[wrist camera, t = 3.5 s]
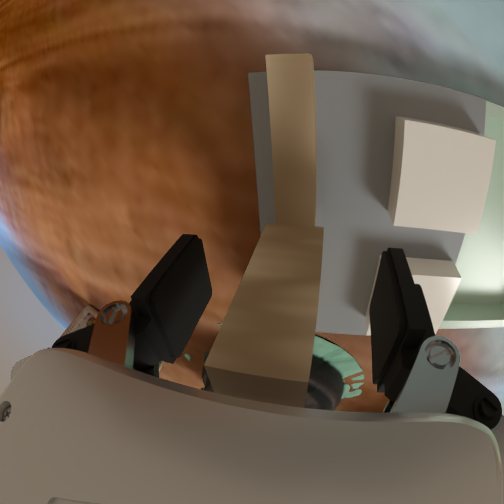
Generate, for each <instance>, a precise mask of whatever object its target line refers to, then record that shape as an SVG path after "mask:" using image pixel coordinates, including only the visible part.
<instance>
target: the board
mask: <svg viewBox="0 0 504 504" xmlns="http://www.w3.org/2000/svg"><path fill="white" fill-rule="evenodd" d="M314 76H315V95H316V124H317V201H316V226H318V227H324V237H323V253H322V268H321V281H320V292H319V303H318V313H317V322H316V331H315V332H324V333H337V334H351V335H366V323H365V315H366V312H367V308H368V304H369V300H370V296H371V292H372V288H373V284H374V280H375V275H376V271H377V266H378V261H379V256H380V255H382V252H383V251H387V249H388V248H402V249H403V251H404V254H405V256H406V257H409V258H422V259H435V260H448V261H453V262H454V264H456V261H457V258H458V255H459V252H460V249H461V246H462V243H463V239H464V236H465V233H459V232H450V231H441V230H432V229H423V228H413V227H402V226H393V223H392V221H391V218H390V216H389V214H388V211H387V210H388V203H389V195H390V187H391V178H392V168H393V156H394V141H395V118H396V116H400V117H407V118H413V119H419V120H424V121H430V122H435V123H440V124H444V125H449V126H453V127H457V128H461V129H465V130H469V131H473V132H477V133H480V134H482V135H484V130H485V115H486V99H483V98H480V97H477V96H474V95H471V94H468V93H465V92H461V91H458V90H454V89H450V88H446V87H442V86H438V85H434V84H430V83H425V82H420V81H415V80H410V79H404V78H398V77H392V76H385V75H377V74H368V73H357V72H344V71H323V70H314ZM248 80H249V92H250V104H251V116H252V129H253V141H254V154H255V167H256V180H257V194H258V207H259V221H260V235H261V234H262V232H263V230H264V227H265V225H266V224H276V220H275V198H274V177H273V158H272V141H271V125H270V110H269V96H268V83H267V71H266V72H252V73H248ZM369 336H371V335H369Z"/></svg>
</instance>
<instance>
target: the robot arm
mask: <svg viewBox="0 0 504 504" xmlns="http://www.w3.org/2000/svg"><path fill="white" fill-rule="evenodd" d="M211 296H212V287H211V282H210V278H209V273H208V268H207V263H206V258H205V253H204V248H203V243H202V240H201V239H199V238H198V236H197V235H190V234H183V235H182V236H181V237H180V238H179V239H178V240H177V241H176V242H175V244H174V245H173V246H172V247H171V248H170V249H169V251H168V252H167V253H166V254H165V255H164V257H163V258H162V259H161V260H160V261H159V263H158V264H157V265H156V266H155V267H154V269H153V270H152V271H151V272H150V273H149V275H148V276H147V277H146V278H145V280H144V281H143V282H142V283H141V285H140V286H139V287H138V288H137V290H136V291H135V292H134V293H133V295H132V296H131V299H132V300H131V302H130V303H127V302H126V301H114V302H111V303H109V304H107V305H105V306H104V307H103V308H102V309H101V310H100V311H99V312H98V315H97V317H96V321H95V324H92V325H90V326H87V327H85V328H82V329H79V330H77V331H74V332H72V333H69V334H66V335H64V336H62V337H60V338H59V339H58V340H56V342H55V343H54V344H53V346H52V348H47V349H43V350H40V351H38V352H36V353H34V354H33V355H31V356H29V357H27V358H24V359H22V360H20V361H18V362H17V363H16V364H15V365H14V367H13V368H12V371H11V381H10V383H9V384H8V386H7V387H6V389H5V390H4V392H3V393H2V395H1V396H0V504H504V416H503V415H502V408H501V403H500V401H499V399H498V398H497V397H496V396H495V394H493V393H492V392H491V391H490V390H488V389H487V388H486V387H485V386H484V385H482V384H481V383H480V382H479V381H477V380H476V379H475V378H474V377H472V376H471V375H470V374H469V373H467V372H466V371H465V370H463V369H462V368H461V367H460V366H459V365H460V353H459V350H458V348H457V346H456V345H455V344H454V343H453V342H452V341H451V340H449V339H447V338H445V337H441V336H435V332H434V328H433V325H432V321H431V317H430V314H429V310H428V307H427V303H426V300H425V297H424V294H423V290H422V288H421V286H420V285H419V284H415V283H414V280H413V277H412V274H411V271H410V268H409V265H408V262H407V259H406V256H405V254H404V251H403V249H402V248H388V249H387V251H383V252H382V255H381V260H380V265H379V269H378V274H377V278H376V282H375V287H374V291H373V295H372V299H371V302H370V308H369V316H370V329H371V345H372V374H373V384H377V392H385V396H386V397H387V398H388V399H389V401H388V402H387V404H386V406H385V408H384V410H383V412H350V411H332V410H320V409H309V408H300V407H292V406H284V405H277V404H271V403H264V402H258V401H252V400H247V399H242V398H237V397H232V396H227V395H222V394H218V393H213V392H209V391H205V390H201V389H197V388H193V387H189V386H185V385H182V384H178V383H175V382H171V381H168V380H164V379H161V378H159V363H160V362H161V360H162V361H165V362H169V363H172V364H173V363H174V361H175V359H176V357H180V356H181V354H182V352H183V350H184V348H185V346H186V344H187V342H188V341H189V339H190V337H191V335H192V333H193V331H194V329H195V327H196V325H197V323H198V321H199V319H200V317H201V315H202V314H203V312H204V310H205V308H206V306H207V304H208V302H209V300H210V298H211Z"/></svg>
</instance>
